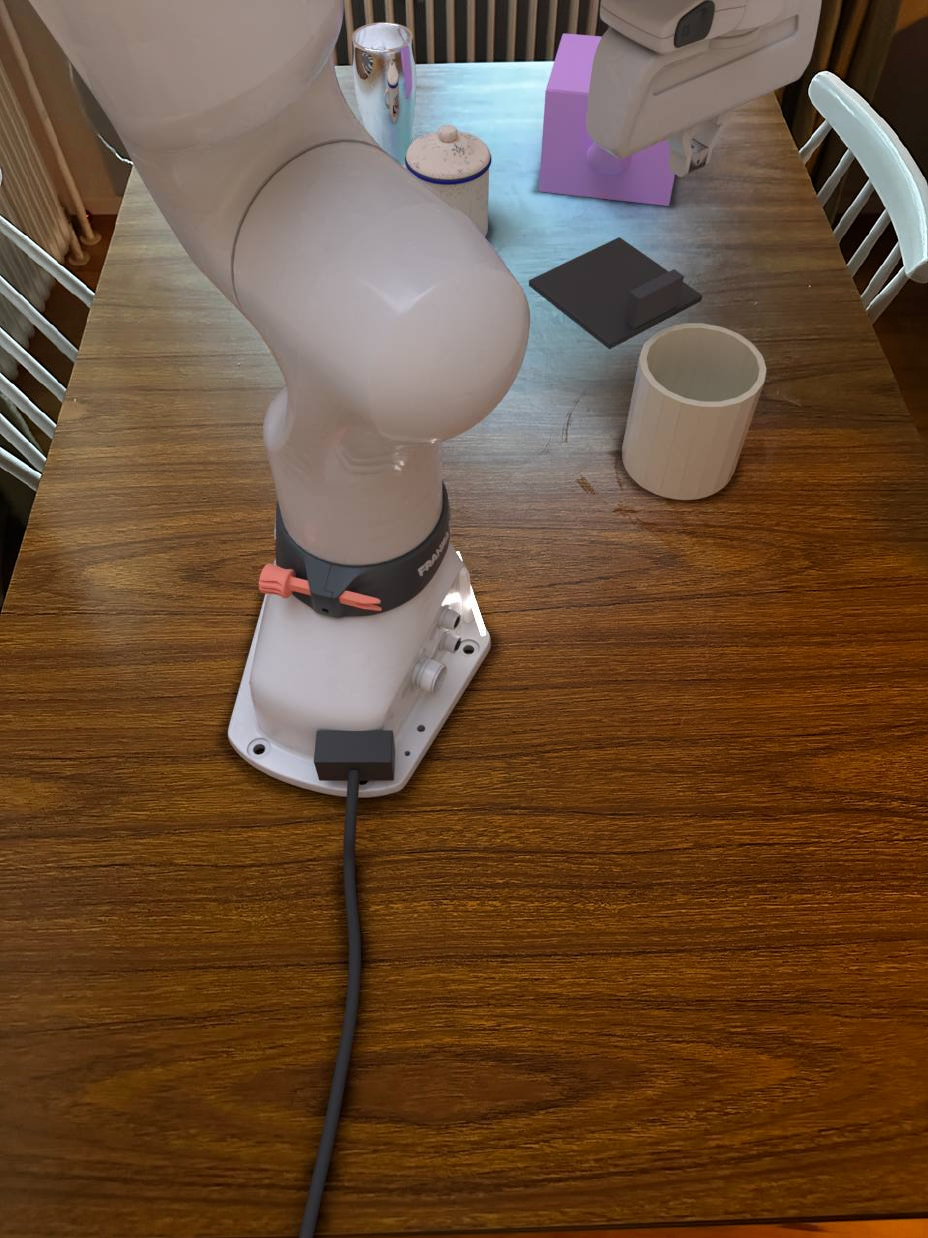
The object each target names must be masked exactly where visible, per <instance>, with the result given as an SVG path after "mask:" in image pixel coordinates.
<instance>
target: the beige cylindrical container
mask: <svg viewBox="0 0 928 1238" xmlns="http://www.w3.org/2000/svg"><path fill="white" fill-rule="evenodd" d="M636 367H637V369H636V372H635V373H636V374H635V378H634V384H633V389H632V394H631V399H630V405H629V410H628V415H627V420H626V426H625V429H624V430H625V432H624V436H623V441H622V446H621V459H622V464H623V466H624V468H625V469H624V470H625V471H626V472H627V474H628V475H629V476H630V478H631V479H632V480H633V481H634V482H635V483H636V484H637V485H639V486H640V487H641V488H643V489H644V490H646V491H648V492H650V493H652V494H654V495H656V496H660V497H662V498H666V499H671V500H677V501H693V500H700V499H704V498H708V497H710V496H713V495H714V494H717V493H718V492H720V491H721V490H722V489H724V488H725V487H726V486H727V485H728V483H729V482H730V481H731V479H732V477H733V475H734V474H735V472H736V468H737V465H738V463H739V459H740V456H741V453H742V450H743V447H744V444H745V441H746V439H747V435H748V432H749V430H750V427H751V424H752V420H753V418H754V415H755V411H756V407H757V406H758V403H759V400H760V396H761V393H762V390H763V388H764V385H765V381H766V376H767V371H768V370H767V365H766V362H765V359H764V356H763V355H762V353H761V352H760V350H759V349H758V348H757V347H756V345H755V344H754V343H753V342H751V341H750V340H749V339H747V338H746V337H744V336H743V335H742V334H740V333H739V332H735V331H734V330H731V329H729V328H726V327H724V326H719V325H714V324H710V323H703V322H685V323H679V324H676V325H671V326H667V327H664V328H662V329H661V330H659V331H657V332H655V333H653V334H652V335H651V336H650V337H649V338H648V339H647V340H646V341H645V343H644V344H643V345H642V347H641V350H640V354H639V357H638V361H637V366H636Z"/></svg>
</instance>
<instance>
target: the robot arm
mask: <svg viewBox="0 0 928 1238" xmlns="http://www.w3.org/2000/svg"><path fill="white" fill-rule="evenodd" d="M822 1H823V0H600V2H599V3H600V4H599V18H600V20H601V21H602V22H603V23H604V24H606V25H608V26H609V28H608V29H607V30H606V31H604V33H603V34H602V36H601V37H602V38H601V40H600V42H599V44H598V46H597V49H596V52H595V56H594V60H593V66H592V72H591V79H590V86H589V95H588V104H587V118H586V126H587V132H588V134H589V136H590V137H591V139H592V140H593V142H594V143H595V144H596V145H598V146H599V147H601V148H602V149H603V150H605V151H606V152H608V153H610V154H611V155H613V156H614V157H616V158H619V159H624V158H627V157H629V156H631V155H633V154H635V153H638V152H640V151H642V150H644V149H646V148H649V147H651V146H653V145H655V144H657V143H660V142H662V141H664V140H666V139H667V142H668V144H669V147H670V148H671V152H670V159H669V169H670V171H671V172H673V173H674V174H675V175H676V176H677V177H678V178H682V177H685V176H687V175H689V174H691V173H694V172H695V171H697V170H699V169H701V168H703V167H706V166H708V165H709V164H710V163H711V159H712V155H713V150H714V146H715V145H716V144H717V142H718V140H719V138H720V137H721V135H722V133H723V132H724V131H725V129H726V127H727V125H728V124H729V122H730V120H731V116H732V112H733V111H732V110H734V109H737V108H739V107H742V106H744V105H745V104H747V103H750V102H753V101H755V100H757V99H759V98H761V97H763V96H765V95H768V94H770V93H772V92H775V91H777V90H779V89H781V88H783V87H786V86H788V85H789V84H792V83H795V82H796V81H799V79H801V77H802V76H803V75H804V72H805V70H807V68H808V66H809V65H810V63H811V59H812V56H813V53H814V47H815V42H816V38H817V32H818V27H819V21H820V15H821V9H822ZM28 2H29V3H30V5H31V6H32V8H33V9H34V10H35V12H36V14H37V15H38V17H39V18H40V19H41V21H42V22H43V24H44V25H45V27H46V28H47V30H48V31H49V33H50V34H51V35H52V37H53V38H54V40H55V41H56V43H57V44H58V46H59V48H60V49H61V50H62V52H63V53H64V55H65V56H66V57H67V59H68V60H69V62H70V63H71V65H72V66H73V68H74V69H75V70H76V72H77V74H78V76H80V78H81V80H82V81H83V82H84V84H85V85H86V87H87V88H88V90H89V91H90V92H91V95H92V96H93V97H94V98H95V100H96V102H97V103H98V105H99V106H100V107H101V109H102V111H103V112H104V114H105V116H106V117H107V118H108V120H109V122H110V124H111V125H112V126H113V129H114V130H115V133H116V134H117V135H118V138H119V139H120V141H121V142H122V144H123V146H124V148H125V151H126V152H127V155H128V156H129V158H130V160H131V162H132V164H133V166H134V168H135V170H136V171H137V174H138V175H139V177H140V178H141V180H142V182H143V184H144V186H145V187H146V189H147V191H148V193H149V194H150V196H151V198H152V200H153V202H154V203H155V205H156V206H157V208H158V210H159V211H160V213H161V214H162V216H163V219H165V221H166V223H167V224H168V225H169V227H170V229H171V231H172V232H173V234H174V235H175V237H176V239H177V240H178V241H179V243H180V245H181V246H182V248H183V249H184V251H185V252H186V254H187V256H188V257H189V259H190V260H191V261H192V263H193V264H194V265H195V267H196V268H197V269H198V270H199V271H200V272H201V273H202V274H203V275H204V276H205V277H206V278H207V280H209V281H210V283H211V284H212V285H213V286H215V287H216V288H217V290H218V291H220V293H221V294H222V295H223V296H224V297H225V298H226V299H227V300H228V301H229V302H230V303H231V305H232V306H233V307H234V308H235V309H237V311H238V312H239V313H240V314H241V315H242V316H243V317H244V318H245V319H246V320H247V321H248V322H249V323H250V325H252V327H253V328H254V329H255V330H256V331H257V332H258V334H259V335H260V337H261V339H262V340H263V342H264V343H265V345H266V347H267V349H268V350H269V351H270V353H271V355H272V357H273V358H274V360H275V362H276V364H277V365H278V368H279V370H280V371H281V374H282V377H283V380H284V382H285V386H283V388H282V389H281V390H280V391H279V393H278V394H277V395H276V396H275V397H274V398H273V399H272V401H271V403H270V404H269V405H268V408H267V411H266V413H265V416H264V420H263V425H262V441H263V445H264V448H265V452H266V456H267V460H268V461H267V462H268V465H269V470H270V473H271V478H272V482H273V486H274V487H273V488H274V490H275V495H276V499H277V500H276V506H275V508H276V509H275V517H274V524H273V525H274V528H273V540H274V541H275V558H274V561H273V563H267V564H265V565H264V566H263V568H262V570H261V572H260V575H259V581H258V589H259V591H260V593H262V594H264V598H263V601H262V605H261V608H260V612H259V615H258V620H257V623H256V627H255V630H254V634H253V638H252V641H251V646H250V649H249V652H248V655H247V659H246V662H245V667H244V669H243V673H242V677H241V681H240V684H239V688H238V692H237V695H236V699H235V702H234V706H233V709H232V713H231V717H230V721H229V725H228V728H227V737H228V742H229V744H230V745H231V747H232V748H233V750H234V751H235V752H236V754H238V755H239V756H240V757H241V758H242V759H243V760H244V761H245V762H247V763H248V764H249V765H251V766H252V767H253V768H255V769H256V770H258V771H260V772H262V773H263V774H266V775H267V776H270V777H272V778H274V779H276V780H278V781H281V782H283V783H286V784H290V785H292V786H296V787H298V788H301V789H305V790H308V791H311V792H312V791H313V792H316V793H321V794H324V795H329V796H330V795H331V796H336V797H344V798H346V799H345V811H344V827H343V847H342V854H343V855H342V869H343V890H344V901H345V902H344V903H345V915H346V924H347V926H346V927H347V939H348V970H347V971H348V975H347V987H346V988H347V989H346V998H345V1008H344V1015H343V1022H342V1026H341V1027H342V1028H341V1034H340V1039H339V1045H338V1050H337V1054H336V1055H337V1056H336V1061H335V1066H334V1070H333V1077H332V1082H331V1086H330V1092H329V1097H328V1102H327V1107H326V1108H327V1109H326V1113H325V1118H324V1123H323V1128H322V1131H321V1132H322V1133H321V1137H320V1141H319V1146H318V1151H317V1155H316V1159H315V1164H314V1168H313V1172H312V1177H311V1180H310V1185H309V1190H308V1194H307V1198H306V1202H305V1207H304V1211H303V1215H302V1216H303V1217H302V1220H301V1226H300V1229H299V1235H298V1238H314V1235H315V1231H316V1227H317V1222H318V1221H317V1220H318V1217H319V1212H320V1208H321V1207H320V1206H321V1202H322V1198H323V1193H324V1189H325V1184H326V1180H327V1177H328V1176H327V1175H328V1171H329V1166H330V1163H331V1157H332V1153H333V1149H334V1145H335V1144H334V1143H335V1140H336V1134H337V1131H338V1124H339V1120H340V1115H341V1109H342V1105H343V1104H342V1103H343V1099H344V1093H345V1087H346V1082H347V1077H348V1072H349V1071H348V1070H349V1067H350V1059H351V1054H352V1049H353V1044H354V1037H355V1031H356V1025H357V1019H358V1018H357V1017H358V1012H359V1011H358V1010H359V1003H360V993H361V975H362V940H361V926H360V914H359V906H358V904H359V903H358V895H357V894H358V893H357V881H356V879H357V878H356V840H357V839H356V838H357V819H358V806H359V805H358V804H359V798H361V799H363V798H376V797H384V796H388V795H391V794H395V793H398V792H400V791H402V790H403V789H404V788H405V786H406V785H407V784H408V783H409V780H411V778H412V776H413V775H414V773H415V771H416V770H417V768H418V767H419V765H420V763H421V762H422V761H423V759H424V757H425V755H426V754H427V752H428V751H429V749H430V747H432V744H433V743H434V741H435V739H436V737H437V736H438V734H439V733H440V732H441V730H442V728H443V726H444V725H445V723H446V722H447V721H448V719H449V717H450V715H451V713H452V712H453V710H454V709H455V707H456V705H457V704H458V702H459V701H460V699H461V698H462V695H463V694H465V693H464V692H465V691H466V689H467V688H468V686H469V684H470V683H471V682H472V680H473V678H474V677H475V675H476V673H477V672H478V670H479V668H480V667H481V665H482V664H483V662H484V660H485V659H486V657H487V656H488V654H489V652H490V651H491V648H492V639H491V635H490V633H489V630H488V628H487V627H486V626H485V624H484V620H483V618H482V614H481V612H480V609H479V606H478V602H477V600H476V598H475V597H476V596H475V595H474V591H473V588H472V585H471V576H470V571H469V569H467V566H466V564H465V562H464V561H463V559H462V555H461V553H460V551H457V550H456V548H455V547H454V545H453V544H452V542H451V528H452V508H451V504H450V499H449V495H448V491H447V487H446V485H445V482H444V479H443V442H446V441H449V440H451V439H453V438H456V437H457V436H460V435H462V434H464V433H466V432H468V431H469V430H471V429H473V428H474V427H476V426H477V425H479V424H480V423H481V422H482V421H484V419H485V418H487V417H488V416H489V415H490V414H491V413H493V411H494V410H495V409H496V408H497V407H498V405H500V403H501V402H502V401H503V399H504V398H505V397H506V396H507V394H508V393H509V392H510V390H511V388H512V386H513V385H514V383H515V381H516V379H517V377H518V375H519V374H520V371H521V368H522V365H523V362H524V359H525V356H526V352H527V349H528V345H529V339H530V331H531V311H530V305H529V300H528V297H527V294H526V293H525V290H524V288H523V287H522V285H521V284H520V282H519V281H518V280H517V278H516V276H514V274H513V273H512V271H511V270H510V269H509V267H508V265H507V264H506V263H505V261H504V260H503V259H502V257H501V256H500V255H499V253H498V252H497V250H496V249H495V248H494V247H493V246H492V244H491V243H490V241H489V240H488V239H487V238H486V236H485V237H484V236H483V234H482V233H481V232H480V230H479V229H478V228H477V227H476V226H475V224H474V223H473V222H472V221H471V220H470V219H469V218H468V217H467V216H466V215H465V214H464V213H462V212H461V211H460V210H458V209H457V208H456V207H455V206H453V205H452V204H451V203H449V202H448V201H447V200H446V199H444V198H443V197H442V196H441V195H439V194H438V193H437V192H435V191H434V190H433V189H432V188H430V187H429V186H428V185H426V184H425V183H424V182H423V181H421V180H420V179H419V178H417V177H416V176H415V175H414V174H412V173H411V172H410V171H409V170H407V169H406V168H405V167H403V166H402V165H401V164H400V163H398V162H397V161H396V160H395V159H394V158H393V157H392V156H391V155H389V154H388V153H387V152H386V151H385V150H384V149H383V148H382V147H380V145H379V144H378V143H377V142H376V141H375V140H374V139H373V137H372V136H371V135H370V134H369V133H368V131H367V130H366V129H365V128H364V127H363V123H362V122H360V120H359V118H358V117H357V116H356V114H355V113H354V111H353V110H352V108H351V107H350V105H349V103H348V101H347V99H346V98H345V96H344V93H343V91H342V89H341V85H340V82H339V79H338V76H337V71H336V67H335V62H334V56H333V50H334V49H335V46H336V44H337V42H338V39H339V36H340V33H341V28H342V25H343V20H344V10H345V0H28ZM466 651H471V652H472V653H466ZM260 749H261V750H264V751H263V753H260V754H257V753H256V752H257V751H258V750H260ZM361 781H362V782H366V781H367V782H366V783H364V784H360V782H361Z"/></svg>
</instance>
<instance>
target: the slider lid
mask: <svg viewBox="0 0 928 1238" xmlns="http://www.w3.org/2000/svg"><path fill="white" fill-rule="evenodd" d="M684 278H685V275H684V274H682V273H680V272H679V271H677V269H676V268H675V269H674V268H673V269H671V270H670V271H669V270H667V269H666V268H664V267H663V266H661V265H660V264H658V263H657V262H656V261H654V260H653V259H652V258H650V257H648V256H647V255H646V254H644V253H643V252H641V251H640V250H639V249H638V248H636V247H635V246H634V245H632V244H630V243H629V242H627V241H626V240H625V239H623V238H622V237H621V236H620V237H616V238H613V239H612V240H610V241H607V242H606V243H603V244H602V245H599V246H598V247H597V246H596V247H595V248H593V249H591V250H589V251H586V252H585V253H583V254H581V255H578V256H577V257H574V258H572V259H570V260H568V261H566V262H564V263H562V264H560V265H558V266H556V267H554V268H552V269H549V270H547V271H545V272H543V273H541V274H538V275H536V276H535V277H533V278H531V279H528V287H529V288H531V289H532V290H533V291H535V292H536V293H537V294H538V295H540V296H541V297H542V298H544V299H545V300H546V301H547V302H548V303H550V304H551V305H552V306H553V307H555V308H556V309H557V310H559V311H560V312H561V313H562V314H564V315H565V316H566V317H567V318H569V319H570V320H571V321H572V322H574V323H575V324H576V325H578V326H579V327H580V328H582V329H583V331H585V332H587V333H588V334H589V335H590V336H591V337H592V338H594V339H595V340H596V341H598V342H599V343H601V344H602V346H603V345H604V347H605V348H607V349H608V350H612V349H614V348H615V347H617V346H619V345H621V344H623V343H626V341H628V340H631V339H633V338H634V337H636V336H638V335H640V334H642V333H644V332H645V331H648V330H650V329H652V328H653V327H655V326H657V325H658V324H661V323H663V322H664V321H666V320H668V319H670V318H672V317H674V316H676V315H678V314H680V313H682V312H683V311H685V310H687V309H689V308H691V307H693V306H695V305H697V304H698V303H701V302H702V299H703V294H701V293H700V292H698V291H697V290H695V289H694V288H693V287H691V286H690V285H688V284H687V283H686V282H684Z"/></svg>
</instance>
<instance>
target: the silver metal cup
mask: <svg viewBox="0 0 928 1238" xmlns="http://www.w3.org/2000/svg"><path fill="white" fill-rule="evenodd" d="M351 57H352V59H351V60H352V62H351V63H352V64H351V65H352V79H353V88H354V94H355V98H356V103H357V107H358V112H359V115H360V119H361V124H362V126H363V127H364V128H365V129H366V130H367V131H368V133H369V134H370V135H371V136H372V137H373V139H374V140H375V141H376V142H377V143H378V144H379V145H380V147H382V148H383V149H384V150H385V151H386V152H387V153H388V154H389V155H391V156H392V157H393V158H394V159H395V160H396V161H397V162H398V163H400V164H401V165H406V164H405V156H406V152H407V150H408V148H409V146H410V145H411V144H412V143H413V141H412V140H413V136H412V135H413V124H414V118H415V110H416V102H417V89H418V87H417V65H416V55H415V45H414V34H413V32H412V30H410V28H408V27H406V26H405V25H402V24H401V23H400V24H399V23H394V22H388V21H380V22H371V23H368V24H365V25H362V26H360V27H358V28H357V29H355V30H354V31H353V33H352V34H351Z"/></svg>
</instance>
